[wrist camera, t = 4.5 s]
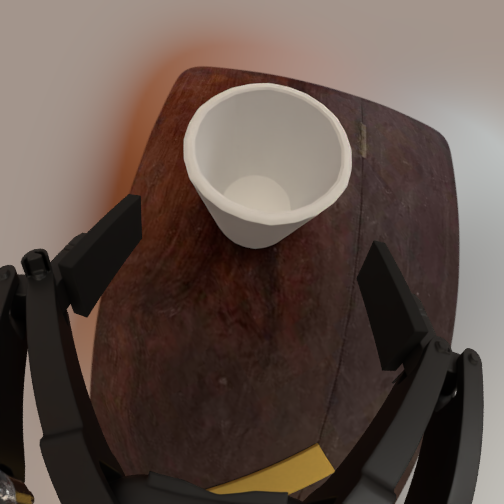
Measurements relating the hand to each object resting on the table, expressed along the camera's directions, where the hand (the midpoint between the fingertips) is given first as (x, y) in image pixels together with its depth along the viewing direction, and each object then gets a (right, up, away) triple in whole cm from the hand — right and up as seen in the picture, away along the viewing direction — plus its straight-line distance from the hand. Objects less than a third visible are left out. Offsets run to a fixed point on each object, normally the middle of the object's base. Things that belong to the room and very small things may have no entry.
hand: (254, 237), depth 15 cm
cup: (0, +3, +13) cm, 13 cm away
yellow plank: (-2, -28, +6) cm, 29 cm away
